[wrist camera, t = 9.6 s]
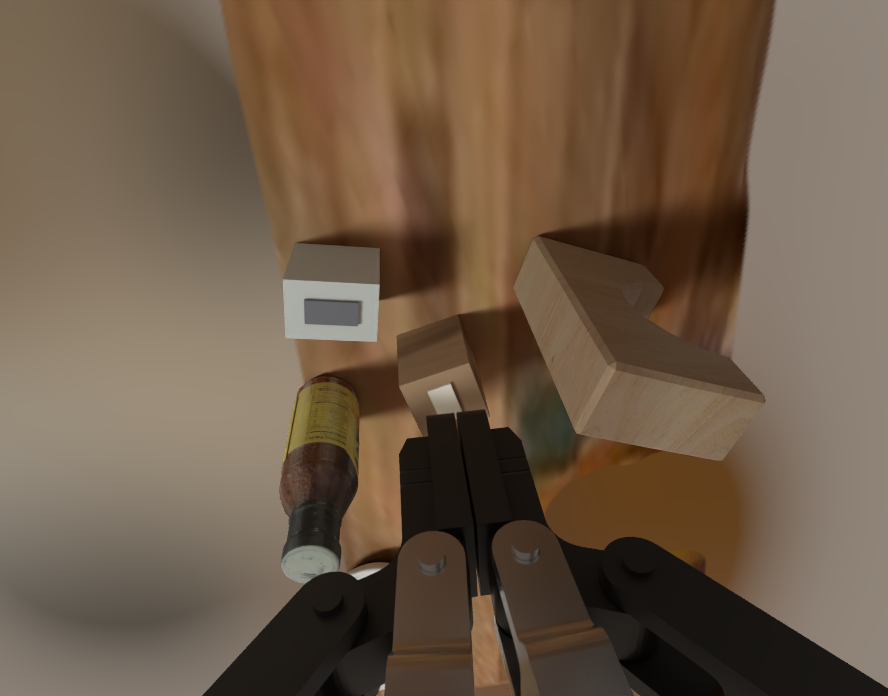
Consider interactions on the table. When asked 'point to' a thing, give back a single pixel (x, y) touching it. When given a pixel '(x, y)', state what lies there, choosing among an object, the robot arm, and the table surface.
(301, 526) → the sauce bottle
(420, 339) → the walnut marked block
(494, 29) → the table surface
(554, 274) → the decorative block
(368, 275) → the grey marked block
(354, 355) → the table surface
